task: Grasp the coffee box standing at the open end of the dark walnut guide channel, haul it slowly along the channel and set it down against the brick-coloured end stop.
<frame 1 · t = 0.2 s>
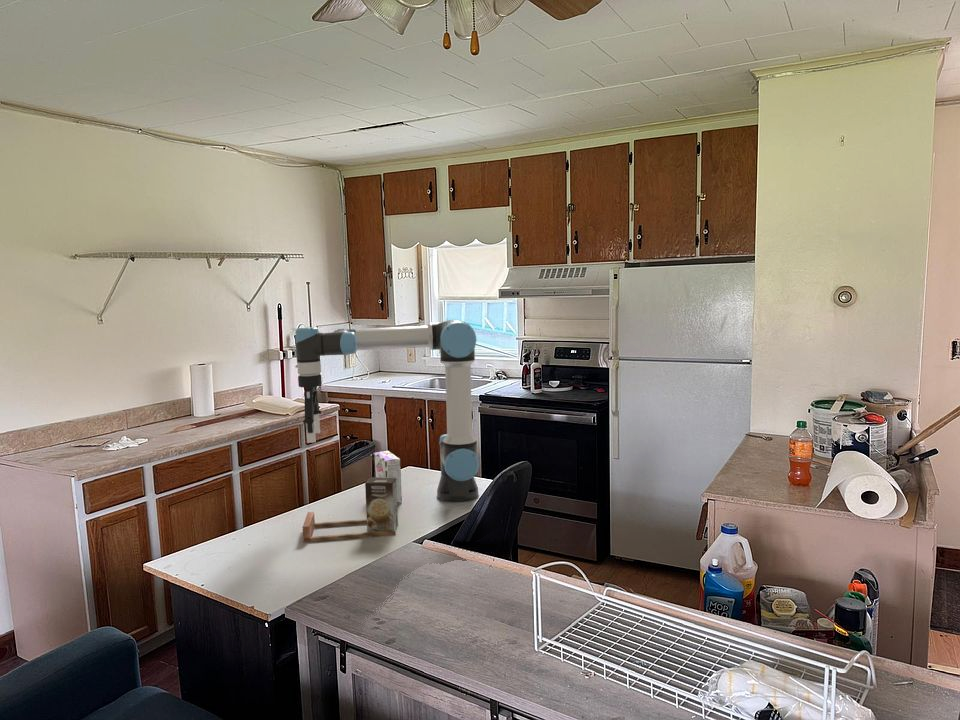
hand: (313, 437, 224), 28 cm above the counter, fingers open, 13 cm apart
coffee box: (382, 529, 216), on the counter
channel: (351, 531, 215), on the counter
candy box: (389, 499, 246), on the counter
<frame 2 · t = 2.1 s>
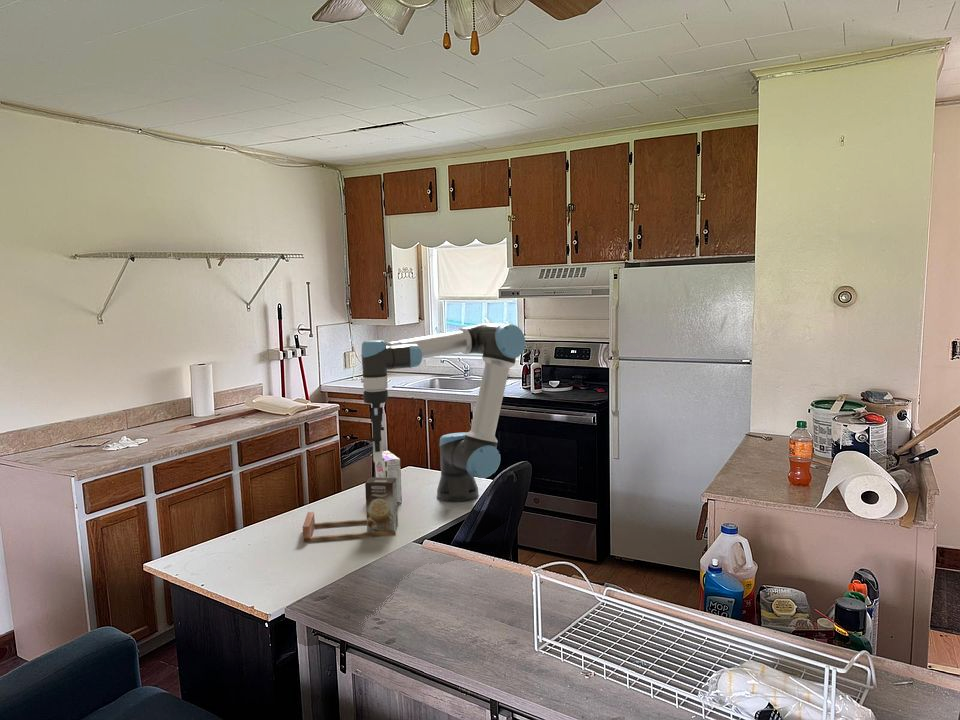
hand: (378, 456, 213), 24 cm above the counter, fingers open, 13 cm apart
nothing on the counter moved.
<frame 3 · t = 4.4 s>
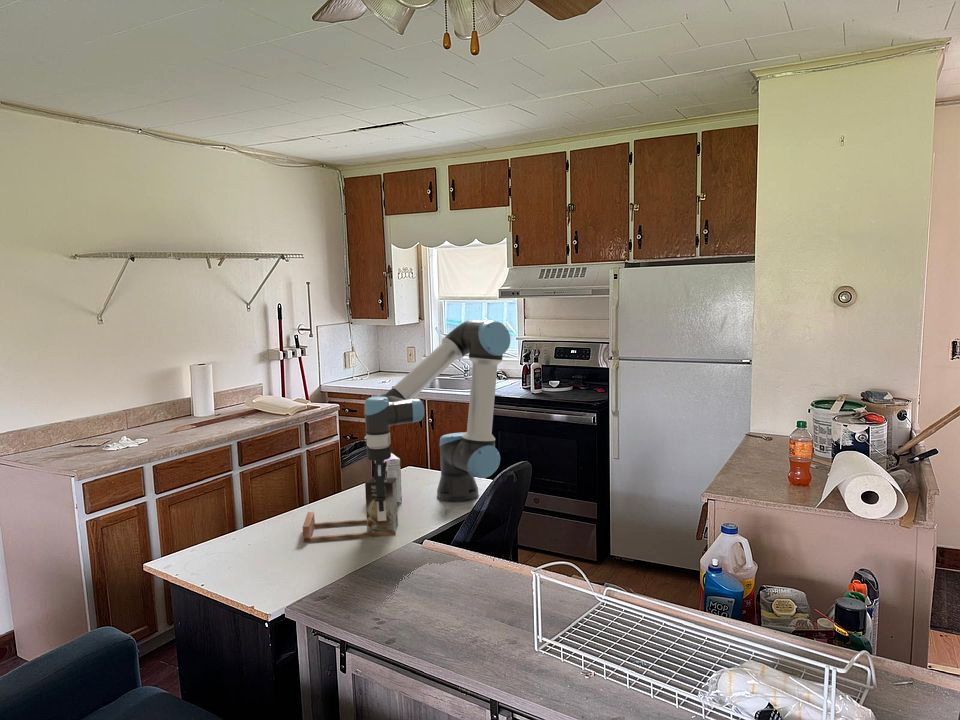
hand: (382, 516, 215), 4 cm above the counter, fingers closed on coffee box, 7 cm apart
coffee box: (382, 529, 216), on the counter, touching gripper
everything else where it was.
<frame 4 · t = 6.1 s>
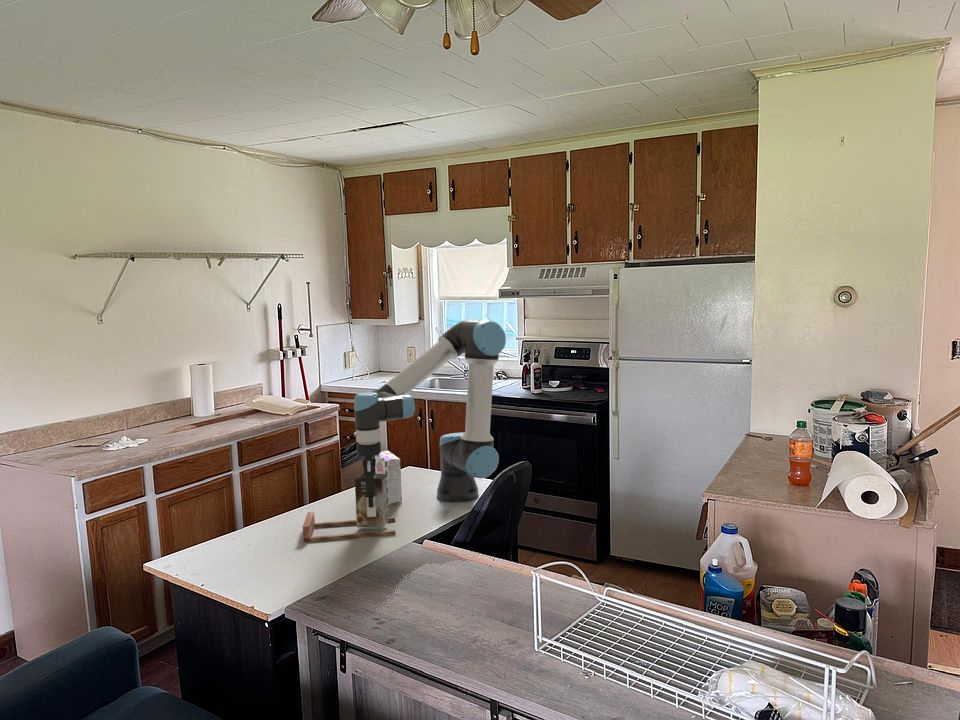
hand: (371, 512, 215), 6 cm above the counter, fingers closed on coffee box, 7 cm apart
coffee box: (372, 525, 215), point 1 cm above the counter, touching gripper
everything else where it was.
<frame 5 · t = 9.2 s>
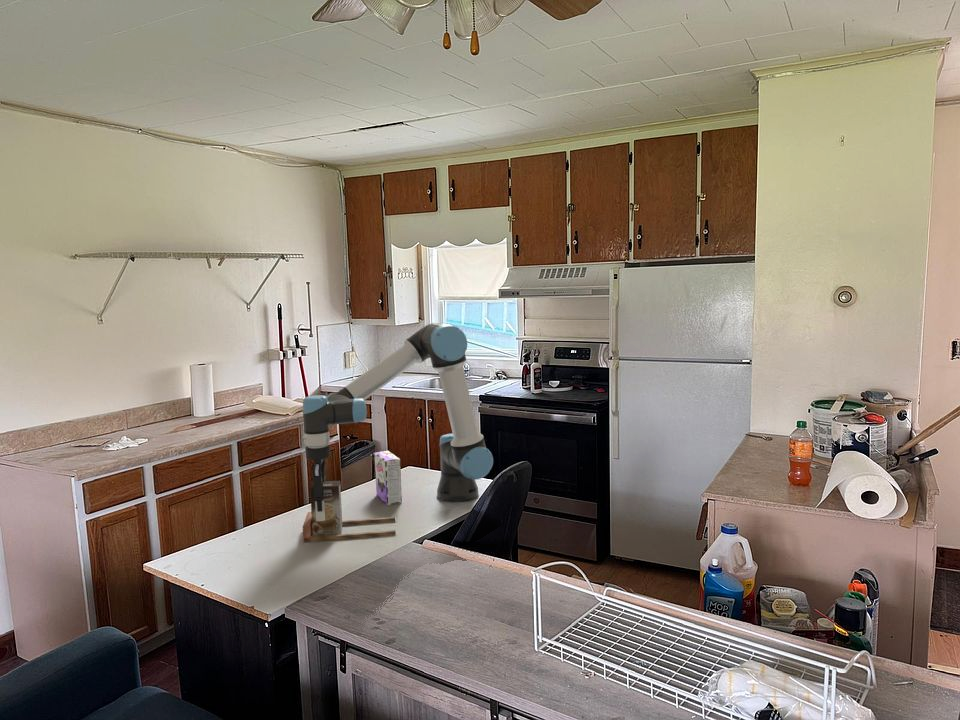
hand: (321, 516, 213), 5 cm above the counter, fingers open, 6 cm apart
coffee box: (327, 533, 214), on the counter, touching gripper
everything else where it was.
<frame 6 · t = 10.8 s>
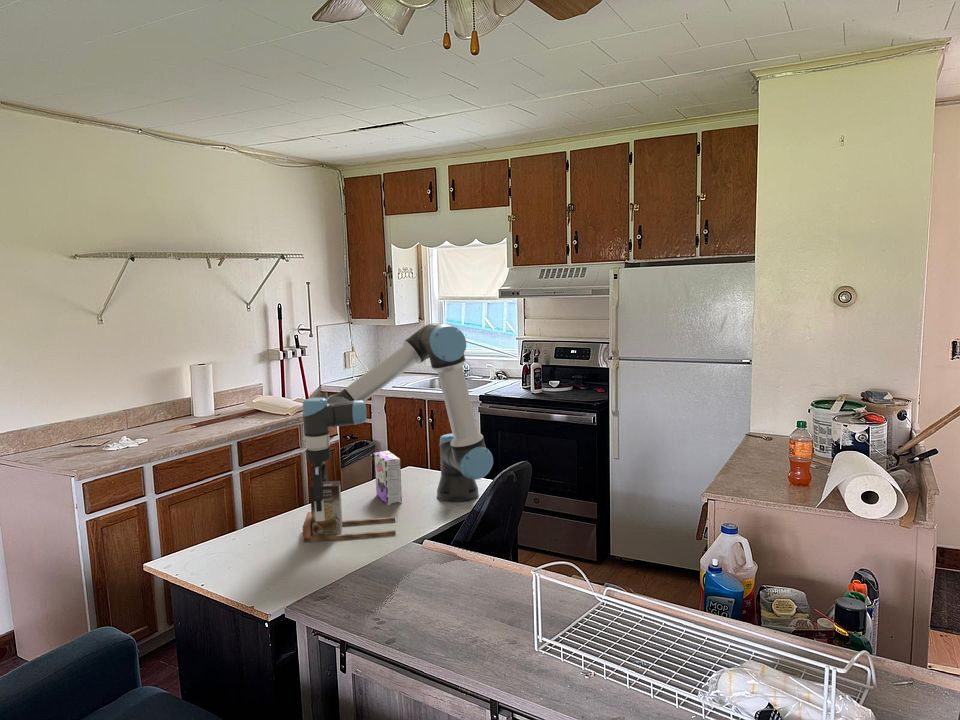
hand: (322, 513, 213), 6 cm above the counter, fingers open, 13 cm apart
coffee box: (327, 533, 214), on the counter
everything else where it was.
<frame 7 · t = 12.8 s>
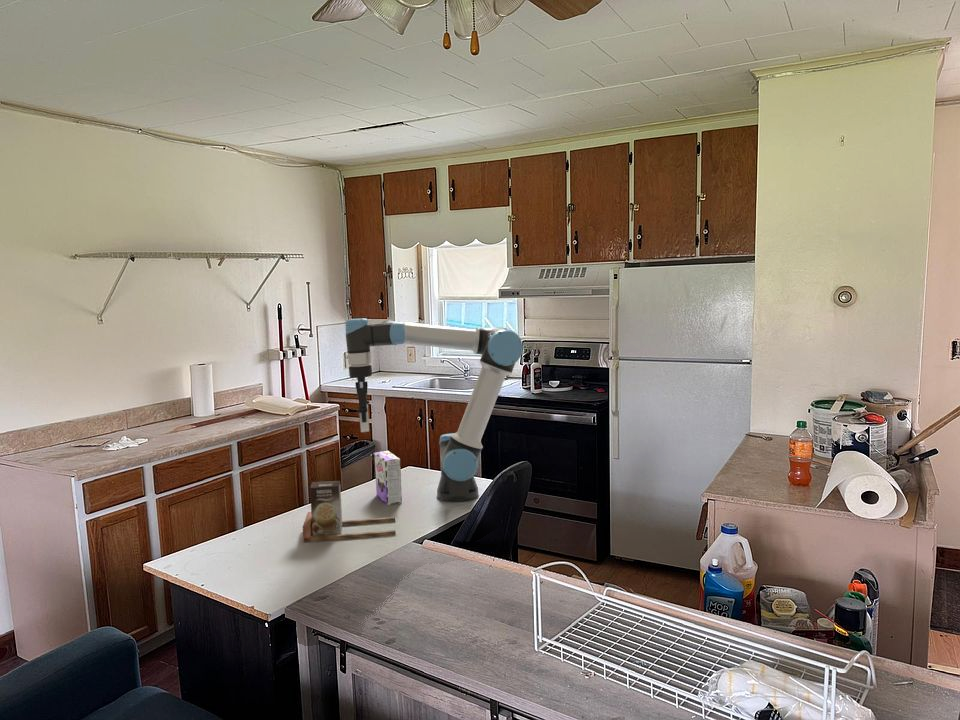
hand: (365, 427, 227), 30 cm above the counter, fingers open, 13 cm apart
nothing on the counter moved.
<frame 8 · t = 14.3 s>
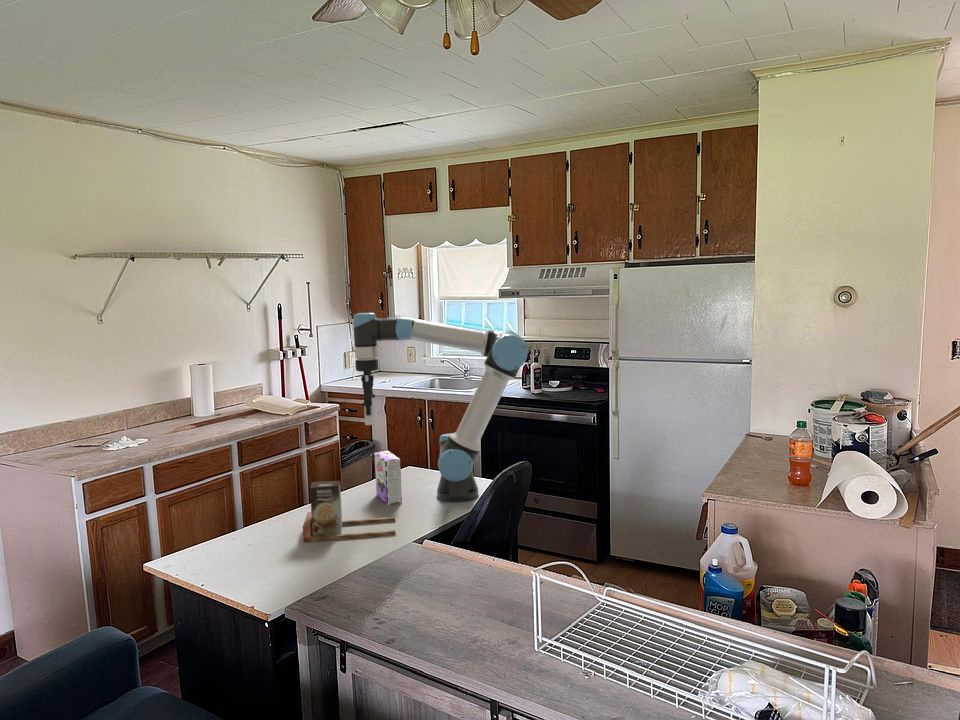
hand: (369, 420, 230), 32 cm above the counter, fingers open, 13 cm apart
nothing on the counter moved.
at the end: coffee box 1.5 cm from the target spot, on the counter; coffee box tilted 0°; the gripper is holding nothing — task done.
